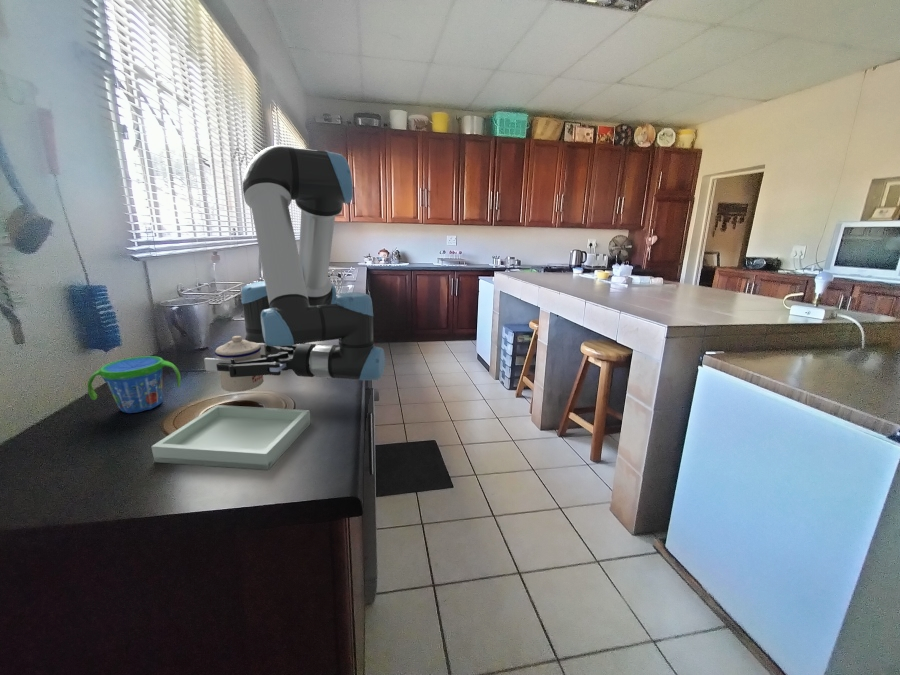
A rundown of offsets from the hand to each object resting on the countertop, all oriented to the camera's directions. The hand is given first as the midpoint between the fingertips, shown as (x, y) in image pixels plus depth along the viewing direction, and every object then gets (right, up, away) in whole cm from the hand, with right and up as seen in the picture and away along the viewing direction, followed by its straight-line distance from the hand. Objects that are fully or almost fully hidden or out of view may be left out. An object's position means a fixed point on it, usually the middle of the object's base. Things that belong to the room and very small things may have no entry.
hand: (224, 355), depth 87 cm
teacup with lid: (+4, -7, +2) cm, 8 cm away
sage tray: (+13, -15, -17) cm, 26 cm away
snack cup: (-16, -11, -4) cm, 20 cm away
